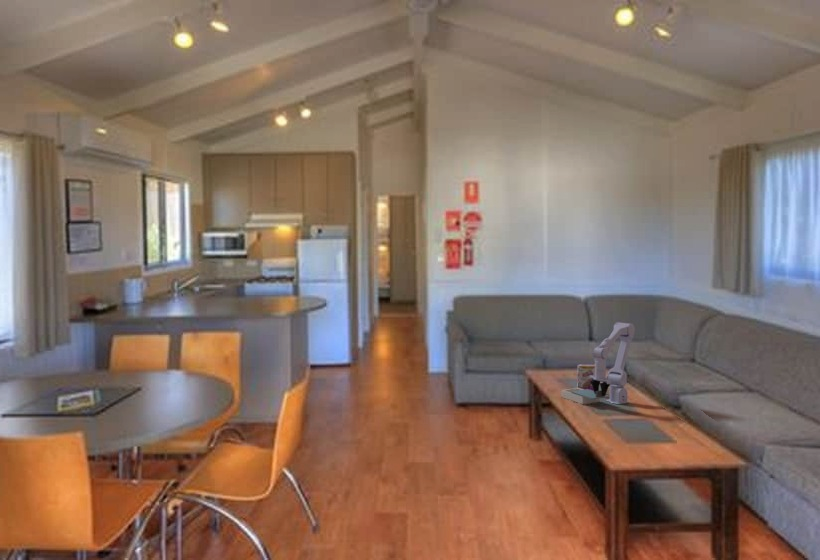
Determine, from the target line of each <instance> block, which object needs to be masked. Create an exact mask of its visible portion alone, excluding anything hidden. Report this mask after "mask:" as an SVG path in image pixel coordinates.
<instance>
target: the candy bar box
mask: <svg viewBox="0 0 820 560" xmlns="http://www.w3.org/2000/svg"><path fill="white" fill-rule="evenodd" d="M576 373H577V376H576V377H577V381H576V388H580V389H584V390H585V389H589V390H592V391H594V390H593V386H592V384H591V382H590V381H592V379H590V375H594V376H595V364H580V363H579V364H577V372H576Z"/></svg>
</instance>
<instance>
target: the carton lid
mask: <svg viewBox="0 0 820 560" xmlns="http://www.w3.org/2000/svg"><path fill="white" fill-rule="evenodd" d="M571 393H574V394H577V395H580V396H584V397H587V398H590V399H598V398H600V399H604V398H609V397H610V396H609V394H606V396H602V394H601V390H599V391H596V394H594V391H592V390H589V389H585V390H577V391H571Z"/></svg>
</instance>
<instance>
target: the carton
mask: <svg viewBox="0 0 820 560" xmlns="http://www.w3.org/2000/svg"><path fill="white" fill-rule="evenodd" d="M577 390H584V389H580V388H577V387H573V388H569V389H561V399H563V398H565V399H564V400H566V399H568V400H567V401H569V400H571V401H570V402H572V401H574V402H573V403H575V402H577V403H576V404H578V403H580V404H579V405H581V404H582V405H581V406H584V405H583V404H585V405H590V404H591V403H592V404H599V403H600V402H601V401H600V400H601V398H598V399H590V398H587V397H584V396H580V395H577V394H574V393H571V391H577ZM592 404H591V405H592Z"/></svg>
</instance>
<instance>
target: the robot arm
mask: <svg viewBox="0 0 820 560" xmlns="http://www.w3.org/2000/svg"><path fill="white" fill-rule="evenodd" d="M635 333H636V328H635V325H634V323H628V322H619V321H617V322H615V324H614V325H613V330H612V332H610V335H609V336H608V337H607V338H604V339H603V340H602V342H601V343H600V344H599V345H598V346H596V347H595V348H593V350H592V357H593V361H594V365H595V376H594V375H590V379H592V381H590V382H591V384H592V386H593V390H594V394H596V391H601V394H602V396H606V395H607V392H608V389H609V394H608V395H609V396H610V397H608V398H609V399H605V401H606V402H608V403H612V404H615V405H623V404H629V401H628V390H627V388H625V386H626V384H627V382H628V378H627V377H628V373H627V372H626V371H625V366H626V362H627V358H628V354H629V350H630V347H631V343H632V340H634V335H635ZM617 339H619V340H620V344H619V346H618V351H617V354H616V358H615V363H614V366H613V367H612V368H610V369H609V370H608V373H607V370H606V369H607V365H606V364H607V359H608V357H609V353H610V350H611V349H613V347H614V345H615V344H614V342H615V341H616V340H617ZM599 389H600V390H599Z"/></svg>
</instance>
